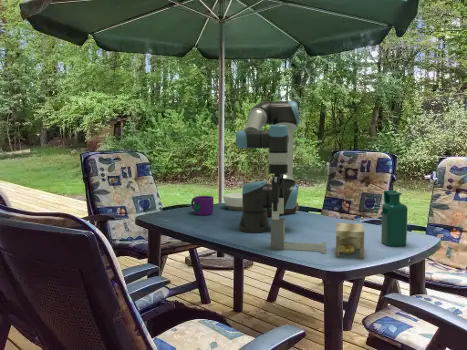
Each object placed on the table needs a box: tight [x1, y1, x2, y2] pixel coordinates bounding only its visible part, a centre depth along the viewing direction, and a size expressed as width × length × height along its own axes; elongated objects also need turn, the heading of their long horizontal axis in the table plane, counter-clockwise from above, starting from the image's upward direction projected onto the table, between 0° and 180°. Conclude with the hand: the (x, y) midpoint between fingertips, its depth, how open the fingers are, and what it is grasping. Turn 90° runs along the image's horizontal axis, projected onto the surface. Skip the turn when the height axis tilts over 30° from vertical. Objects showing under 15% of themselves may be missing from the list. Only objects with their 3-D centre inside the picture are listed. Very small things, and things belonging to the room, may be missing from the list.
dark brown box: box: [266, 201, 299, 218], centre depth 246 cm, size 11×7×30 cm
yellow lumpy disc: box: [339, 244, 355, 256], centre depth 170 cm, size 6×6×2 cm
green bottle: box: [380, 189, 409, 248], centre depth 182 cm, size 10×8×22 cm
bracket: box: [270, 217, 327, 254], centre depth 174 cm, size 22×7×12 cm, turn 76°
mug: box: [190, 195, 214, 216], centre depth 254 cm, size 17×11×10 cm, turn 43°
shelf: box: [335, 222, 365, 260], centre depth 169 cm, size 10×15×10 cm, turn 166°
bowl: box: [222, 192, 243, 212], centre depth 270 cm, size 22×22×8 cm
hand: (277, 216), depth 175 cm, fingers open, 13 cm apart
